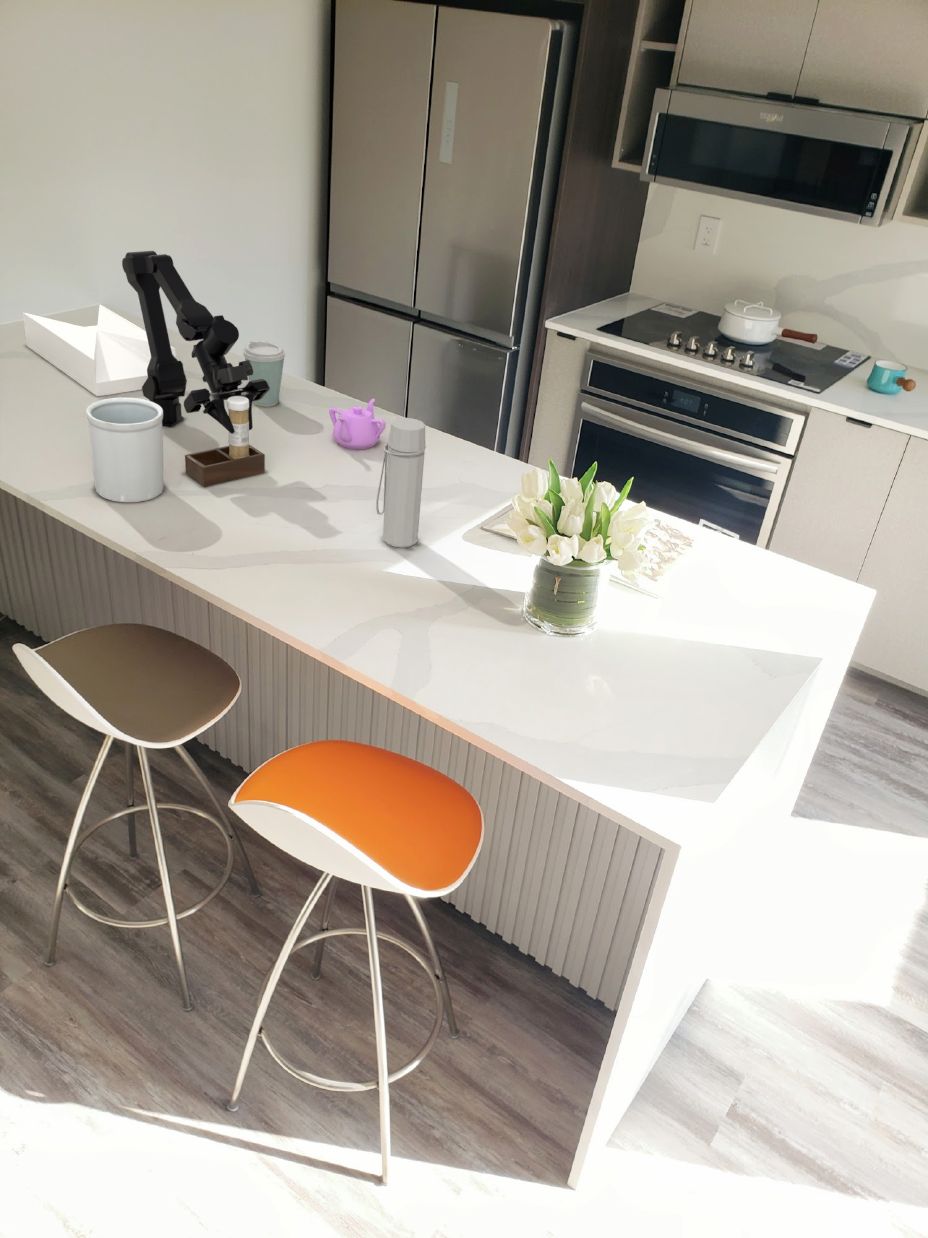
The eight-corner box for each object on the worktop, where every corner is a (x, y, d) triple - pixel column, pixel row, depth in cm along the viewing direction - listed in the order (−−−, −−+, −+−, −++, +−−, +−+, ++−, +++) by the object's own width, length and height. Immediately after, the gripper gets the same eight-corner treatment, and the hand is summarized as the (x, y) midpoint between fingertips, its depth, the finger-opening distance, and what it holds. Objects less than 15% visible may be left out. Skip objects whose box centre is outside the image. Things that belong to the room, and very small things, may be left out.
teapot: (338, 453, 240) (339, 417, 235) (326, 431, 251) (327, 397, 246) (386, 451, 244) (388, 416, 239) (372, 430, 255) (374, 396, 250)
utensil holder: (182, 486, 216) (178, 408, 207) (135, 510, 205) (128, 429, 196) (127, 469, 221) (121, 391, 212) (78, 492, 209) (69, 411, 200)
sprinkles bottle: (243, 451, 228) (242, 393, 221) (253, 458, 225) (252, 400, 218) (224, 454, 225) (223, 396, 218) (234, 462, 222) (233, 403, 215)
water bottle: (423, 537, 207) (433, 421, 194) (409, 553, 201) (418, 434, 188) (382, 527, 209) (389, 412, 196) (367, 542, 203) (373, 424, 190)
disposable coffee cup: (293, 403, 265) (294, 346, 257) (265, 413, 257) (265, 355, 249) (263, 392, 270) (262, 336, 262) (234, 402, 262) (233, 345, 254)
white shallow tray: (177, 383, 269) (175, 348, 264) (97, 396, 256) (93, 359, 251) (102, 336, 296) (99, 303, 291) (26, 345, 283) (22, 311, 278)
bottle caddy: (185, 473, 222) (184, 454, 220) (245, 460, 231) (245, 441, 229) (204, 487, 217) (203, 467, 215) (264, 472, 226) (264, 454, 224)
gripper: (188, 353, 209) (217, 422, 209) (265, 342, 221) (293, 407, 220) (171, 378, 218) (199, 444, 217) (246, 366, 229) (272, 429, 229)
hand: (242, 430), depth 221 cm, fingers closed on sprinkles bottle, 4 cm apart
